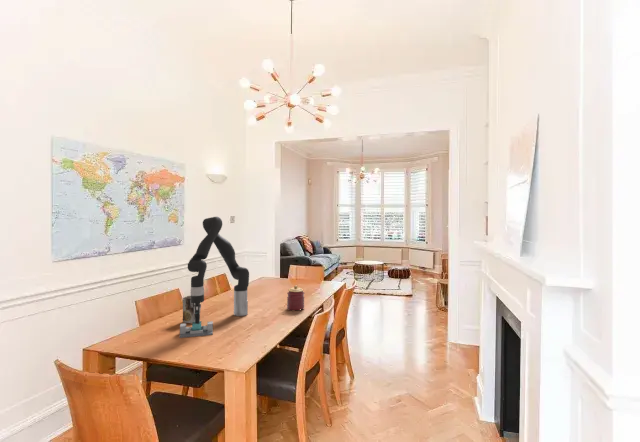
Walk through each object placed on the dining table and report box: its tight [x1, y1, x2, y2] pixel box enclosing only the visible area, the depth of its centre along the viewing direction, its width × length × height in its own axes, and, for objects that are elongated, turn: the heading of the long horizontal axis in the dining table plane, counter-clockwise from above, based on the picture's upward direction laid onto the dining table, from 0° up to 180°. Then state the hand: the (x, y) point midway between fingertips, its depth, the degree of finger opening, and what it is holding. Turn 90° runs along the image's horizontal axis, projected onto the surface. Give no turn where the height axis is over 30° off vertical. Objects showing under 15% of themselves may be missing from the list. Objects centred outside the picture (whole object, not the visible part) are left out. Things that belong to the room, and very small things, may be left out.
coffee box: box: [182, 295, 201, 324], centre depth 221 cm, size 9×6×16 cm
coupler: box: [191, 320, 202, 331], centre depth 201 cm, size 5×5×5 cm
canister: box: [286, 285, 305, 311], centre depth 255 cm, size 13×13×18 cm
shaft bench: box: [179, 320, 214, 339], centre depth 200 cm, size 18×12×5 cm, turn 108°
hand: (197, 321), depth 200 cm, fingers open, 8 cm apart
